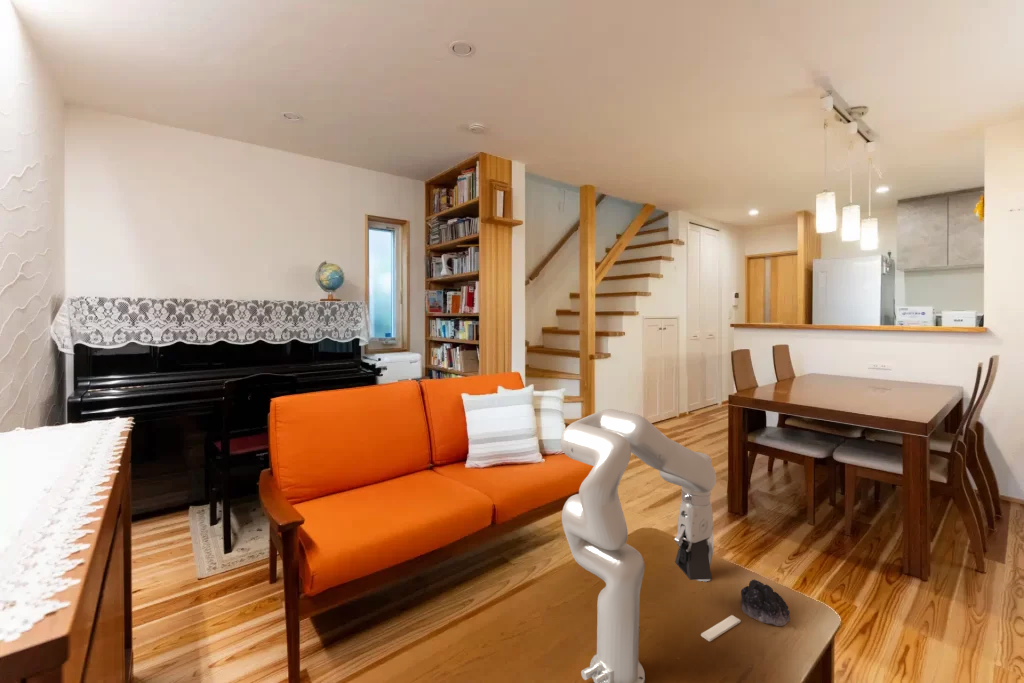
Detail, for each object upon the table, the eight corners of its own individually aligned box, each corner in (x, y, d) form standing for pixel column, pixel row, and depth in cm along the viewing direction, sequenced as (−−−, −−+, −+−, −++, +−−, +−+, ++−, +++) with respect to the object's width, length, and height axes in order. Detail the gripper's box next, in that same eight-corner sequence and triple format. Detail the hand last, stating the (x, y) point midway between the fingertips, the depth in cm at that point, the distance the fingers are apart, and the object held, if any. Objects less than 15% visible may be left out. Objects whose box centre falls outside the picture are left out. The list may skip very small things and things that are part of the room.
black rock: (769, 598, 135) (766, 565, 135) (804, 625, 121) (801, 588, 122) (729, 605, 133) (725, 571, 133) (760, 633, 120) (756, 596, 120)
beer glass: (690, 580, 142) (691, 535, 142) (688, 568, 149) (689, 525, 148) (714, 584, 140) (715, 538, 139) (711, 572, 147) (712, 528, 146)
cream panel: (709, 641, 116) (709, 639, 116) (700, 635, 118) (701, 633, 118) (740, 622, 123) (740, 620, 123) (731, 616, 125) (731, 614, 125)
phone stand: (711, 579, 121) (713, 536, 121) (690, 580, 121) (692, 536, 120) (694, 562, 130) (696, 521, 130) (675, 562, 130) (676, 522, 129)
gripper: (687, 508, 117) (685, 575, 118) (726, 496, 126) (723, 558, 127) (664, 498, 123) (661, 562, 124) (702, 487, 132) (700, 547, 133)
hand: (693, 559), depth 125 cm, fingers closed on phone stand, 6 cm apart
